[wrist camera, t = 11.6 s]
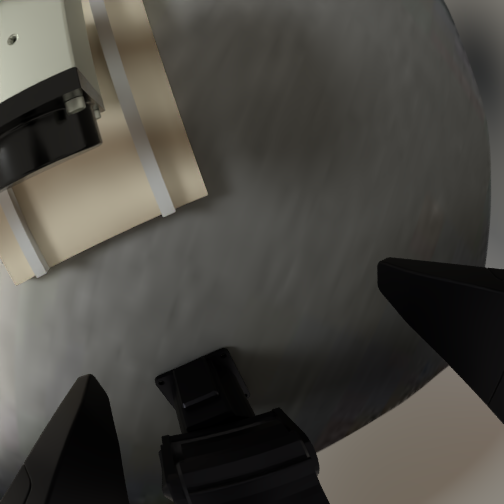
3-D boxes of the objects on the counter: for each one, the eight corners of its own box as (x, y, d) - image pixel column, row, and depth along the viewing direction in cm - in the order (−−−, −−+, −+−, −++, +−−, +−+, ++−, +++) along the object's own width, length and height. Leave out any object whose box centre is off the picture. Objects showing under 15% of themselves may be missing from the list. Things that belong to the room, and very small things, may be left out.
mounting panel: (204, 191, 20) (211, 197, 18) (21, 278, 17) (12, 291, 15) (116, -77, 10) (116, -91, 9) (-56, 12, 8) (-68, 6, 6)
